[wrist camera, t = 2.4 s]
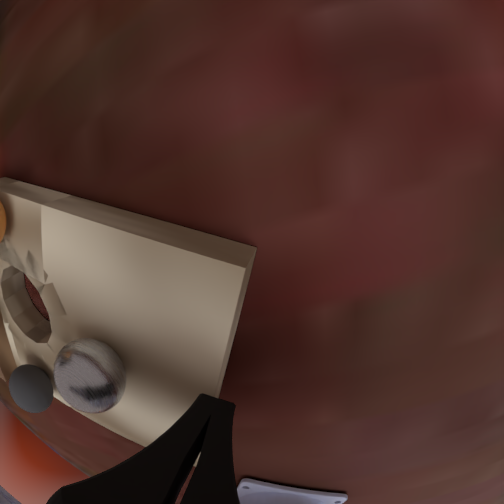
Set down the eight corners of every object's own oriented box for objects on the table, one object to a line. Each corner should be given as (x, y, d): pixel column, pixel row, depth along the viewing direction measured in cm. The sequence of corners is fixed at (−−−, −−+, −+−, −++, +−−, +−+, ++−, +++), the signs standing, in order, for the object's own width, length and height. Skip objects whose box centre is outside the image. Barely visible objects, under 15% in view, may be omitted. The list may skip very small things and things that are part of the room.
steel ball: (139, 391, 12) (107, 439, 9) (85, 364, 12) (48, 404, 9) (139, 341, 11) (96, 392, 8) (78, 313, 11) (31, 352, 8)
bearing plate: (206, 442, 16) (189, 486, 12) (26, 350, 17) (-2, 374, 14) (257, 247, 11) (233, 289, 8) (4, 177, 12) (-42, 189, 9)
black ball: (66, 401, 14) (40, 430, 12) (34, 379, 15) (9, 404, 12) (57, 369, 13) (26, 400, 11) (24, 347, 14) (-6, 372, 11)
